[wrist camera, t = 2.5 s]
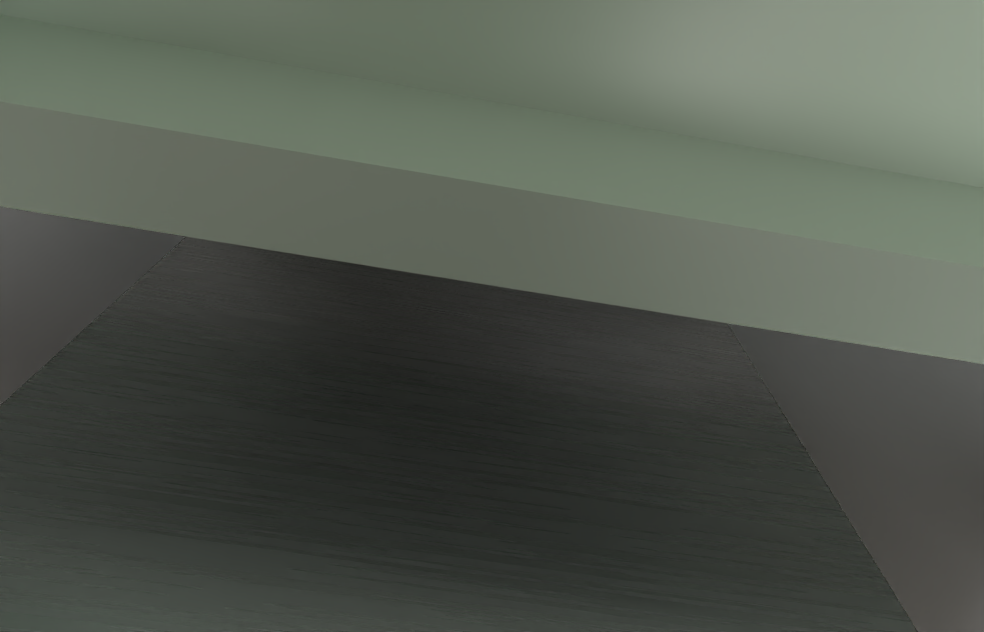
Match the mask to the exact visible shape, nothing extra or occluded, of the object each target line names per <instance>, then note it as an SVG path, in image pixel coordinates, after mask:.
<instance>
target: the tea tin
mask: <svg viewBox="0 0 984 632" xmlns="http://www.w3.org/2000/svg"><path fill="white" fill-rule="evenodd" d="M0 632H917V630H916V628H915V627H914V625H913V624H912V622H911V620H910V619H909V617H908V615H907V614H906V612H905V611H904V609H903V607H902V606H901V604H900V602H899V601H898V599H897V598H896V596H895V594H894V593H893V591H892V590H891V588H890V586H889V585H888V583H887V581H886V580H885V578H884V577H883V575H882V573H881V572H880V570H879V568H878V567H877V565H876V564H875V562H874V560H873V559H872V557H871V555H870V554H869V552H868V551H867V549H866V547H865V546H864V544H863V543H862V541H861V539H860V538H859V536H858V534H857V533H856V531H855V530H854V528H853V526H852V525H851V523H850V521H849V520H848V518H847V517H846V515H845V513H844V512H843V510H842V508H841V507H840V505H839V504H838V502H837V500H836V499H835V497H834V496H833V494H832V492H831V491H830V489H829V487H828V486H827V484H826V483H825V481H824V479H823V478H822V476H821V474H820V473H819V471H818V470H817V468H816V466H815V465H814V463H813V462H812V460H811V458H810V457H809V455H808V453H807V452H806V450H805V449H804V447H803V445H802V444H801V442H800V440H799V439H798V437H797V436H796V434H795V432H794V431H793V429H792V427H791V426H790V424H789V423H788V421H787V419H786V418H785V416H784V415H783V413H782V411H781V410H780V408H779V406H778V405H777V403H776V402H775V400H774V398H773V397H772V395H771V393H770V392H769V390H768V389H767V387H766V385H765V384H764V382H763V380H762V379H761V377H760V376H759V374H758V372H757V371H756V369H755V368H754V366H753V364H752V363H751V361H750V359H749V358H748V356H747V355H746V353H745V351H744V350H743V348H742V346H741V345H740V343H739V342H738V340H737V338H736V337H735V335H734V334H733V332H732V330H731V329H730V327H729V325H728V324H727V323H722V322H716V321H710V320H704V319H697V318H691V317H685V316H679V315H672V314H666V313H660V312H654V311H647V310H641V309H635V308H629V307H623V306H616V305H610V304H604V303H598V302H591V301H585V300H579V299H573V298H566V297H560V296H554V295H548V294H541V293H535V292H529V291H523V290H516V289H510V288H504V287H498V286H492V285H485V284H479V283H473V282H467V281H460V280H454V279H448V278H442V277H435V276H429V275H423V274H417V273H410V272H404V271H398V270H392V269H385V268H379V267H373V266H367V265H361V264H354V263H348V262H342V261H336V260H329V259H323V258H317V257H311V256H304V255H298V254H292V253H286V252H279V251H273V250H267V249H261V248H254V247H248V246H242V245H236V244H230V243H223V242H217V241H211V240H205V239H198V238H192V237H185V238H184V239H183V240H182V241H181V242H180V243H179V244H178V245H177V246H176V247H175V248H173V249H172V250H171V251H170V252H169V253H168V254H167V255H166V256H165V257H164V258H162V259H161V260H160V261H159V262H158V263H157V264H156V265H155V266H154V267H153V268H151V269H150V270H149V271H148V272H147V273H146V274H145V275H144V276H143V277H142V278H140V279H139V280H138V281H137V282H136V283H135V284H134V285H133V286H132V287H131V288H129V289H128V290H127V291H126V292H125V293H124V294H123V295H122V296H121V297H120V298H118V299H117V300H116V301H115V302H114V303H113V304H112V305H111V306H110V307H109V308H107V309H106V310H105V311H104V312H103V313H102V314H101V315H100V316H99V317H98V318H96V319H95V320H94V321H93V322H92V323H91V324H90V325H89V326H88V327H87V328H85V329H84V330H83V331H82V332H81V333H80V334H79V335H78V336H77V337H76V338H74V339H73V340H72V341H71V342H70V343H69V344H68V345H67V346H66V347H65V348H63V349H62V350H61V351H60V352H59V353H58V354H57V355H56V356H55V357H54V358H52V359H51V360H50V361H49V362H48V363H47V364H46V365H45V366H44V367H43V368H41V369H40V370H39V371H38V372H37V373H36V374H35V375H34V376H33V377H32V378H30V379H29V380H28V381H27V382H26V383H25V384H24V385H23V386H22V387H21V388H19V389H18V390H17V391H16V392H15V393H14V394H13V395H12V396H11V397H10V398H8V399H7V400H6V401H5V402H4V403H3V404H2V405H1V406H0Z"/></svg>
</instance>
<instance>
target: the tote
mask: <svg viewBox="0 0 984 632" xmlns="http://www.w3.org/2000/svg"><path fill="white" fill-rule="evenodd" d="M0 207H5V208H11V209H17V210H24V211H30V212H36V213H42V214H49V215H55V216H61V217H67V218H74V219H80V220H86V221H92V222H99V223H105V224H111V225H117V226H124V227H130V228H136V229H142V230H148V231H155V232H161V233H167V234H173V235H180V236H186V237H192V238H198V239H205V240H211V241H217V242H223V243H230V244H236V245H242V246H248V247H254V248H261V249H267V250H273V251H279V252H286V253H292V254H298V255H304V256H311V257H317V258H323V259H329V260H336V261H342V262H348V263H354V264H361V265H367V266H373V267H379V268H385V269H392V270H398V271H404V272H410V273H417V274H423V275H429V276H435V277H442V278H448V279H454V280H460V281H467V282H473V283H479V284H485V285H492V286H498V287H504V288H510V289H516V290H523V291H529V292H535V293H541V294H548V295H554V296H560V297H566V298H573V299H579V300H585V301H591V302H598V303H604V304H610V305H616V306H623V307H629V308H635V309H641V310H647V311H654V312H660V313H666V314H672V315H679V316H685V317H691V318H697V319H704V320H710V321H716V322H722V323H729V324H735V325H741V326H747V327H753V328H760V329H766V330H772V331H778V332H785V333H791V334H797V335H803V336H810V337H816V338H822V339H828V340H835V341H841V342H847V343H853V344H860V345H866V346H872V347H878V348H884V349H891V350H897V351H903V352H909V353H916V354H922V355H928V356H934V357H941V358H947V359H953V360H959V361H966V362H972V363H978V364H984V0H0Z"/></svg>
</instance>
